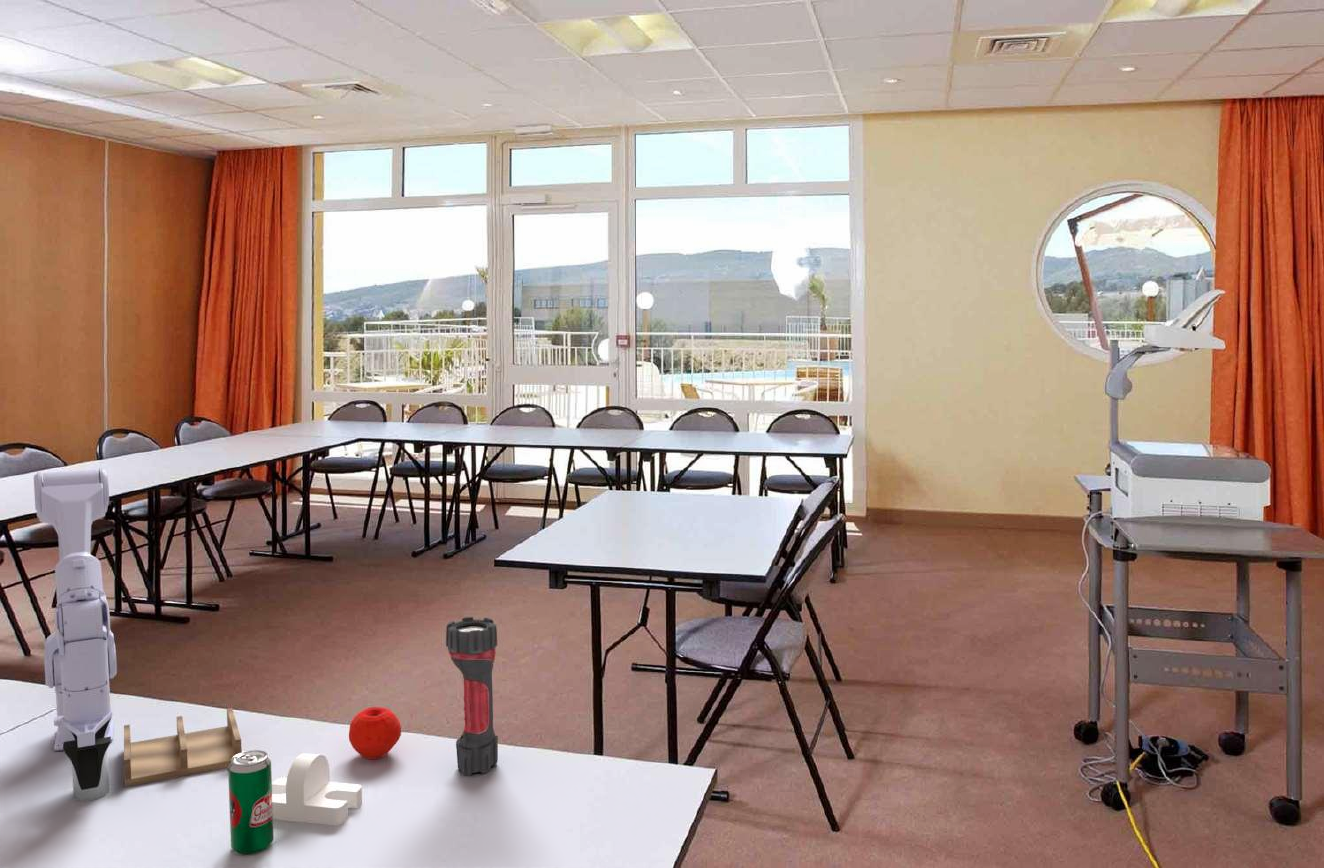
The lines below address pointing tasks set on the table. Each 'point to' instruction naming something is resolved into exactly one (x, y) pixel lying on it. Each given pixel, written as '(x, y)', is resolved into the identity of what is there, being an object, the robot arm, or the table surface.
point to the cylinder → (93, 792)
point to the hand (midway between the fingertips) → (90, 776)
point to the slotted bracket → (313, 793)
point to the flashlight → (475, 691)
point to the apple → (374, 732)
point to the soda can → (250, 802)
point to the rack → (180, 752)
